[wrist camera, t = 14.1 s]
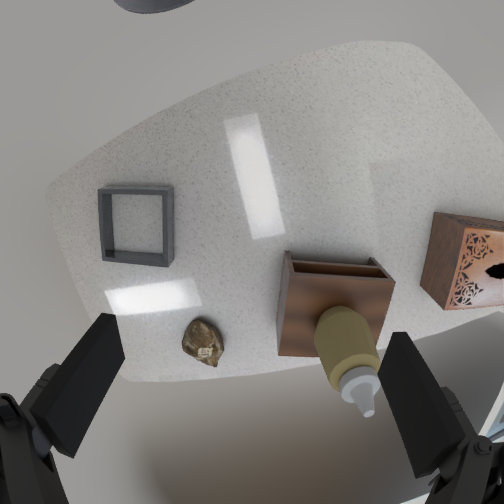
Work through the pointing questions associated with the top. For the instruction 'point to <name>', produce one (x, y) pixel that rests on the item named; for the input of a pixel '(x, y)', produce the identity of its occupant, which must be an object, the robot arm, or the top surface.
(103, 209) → the holder
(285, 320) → the wooden shelf
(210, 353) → the fossilized seashell
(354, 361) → the squeeze bottle
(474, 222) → the tissue box cover
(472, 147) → the top surface
